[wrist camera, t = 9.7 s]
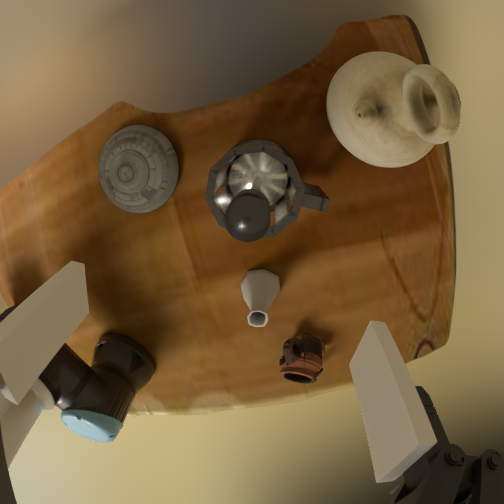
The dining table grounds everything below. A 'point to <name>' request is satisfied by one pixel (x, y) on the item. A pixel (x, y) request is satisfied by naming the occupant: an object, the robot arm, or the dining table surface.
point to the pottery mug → (302, 359)
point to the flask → (259, 294)
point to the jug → (391, 108)
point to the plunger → (254, 194)
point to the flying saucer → (138, 168)
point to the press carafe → (284, 216)
